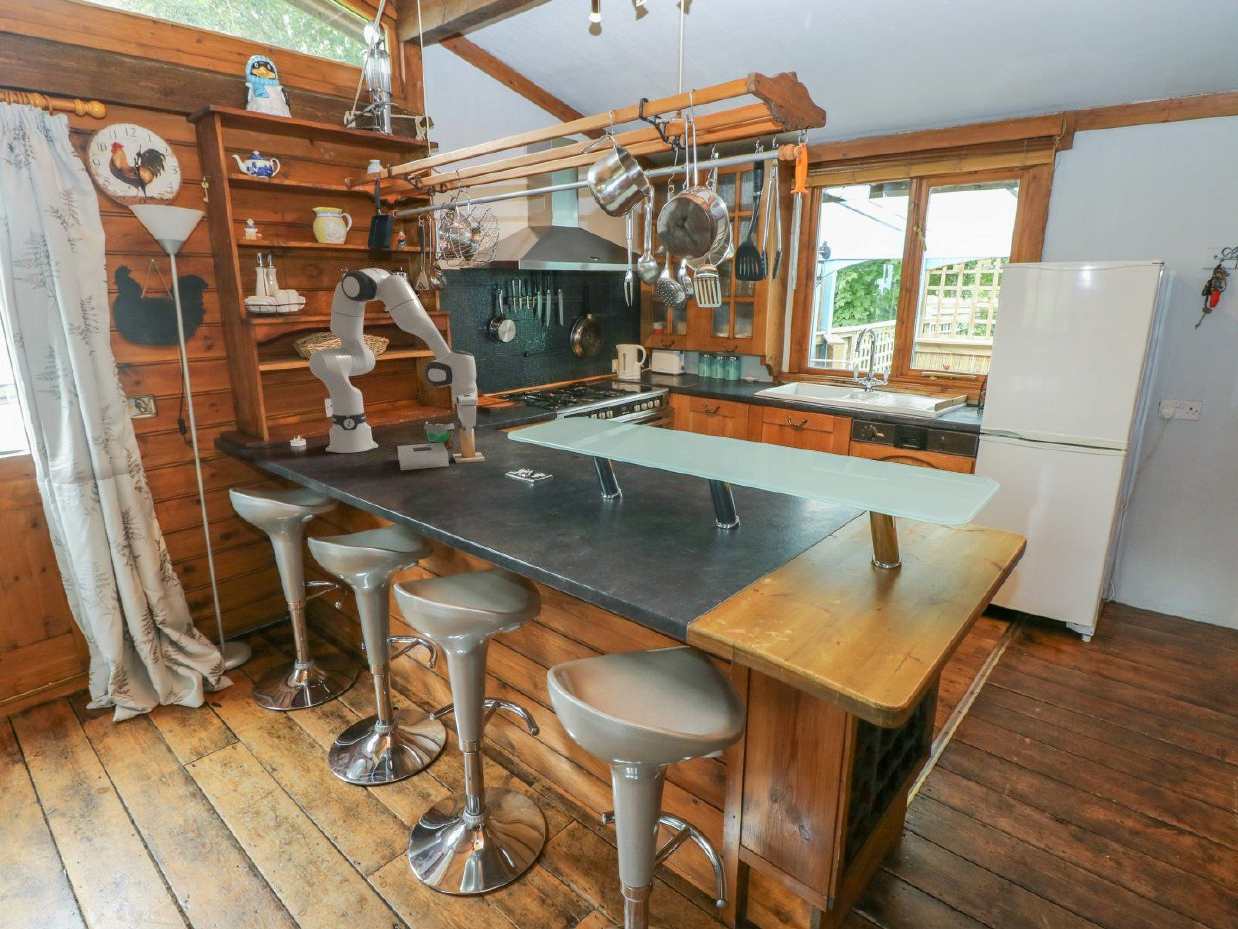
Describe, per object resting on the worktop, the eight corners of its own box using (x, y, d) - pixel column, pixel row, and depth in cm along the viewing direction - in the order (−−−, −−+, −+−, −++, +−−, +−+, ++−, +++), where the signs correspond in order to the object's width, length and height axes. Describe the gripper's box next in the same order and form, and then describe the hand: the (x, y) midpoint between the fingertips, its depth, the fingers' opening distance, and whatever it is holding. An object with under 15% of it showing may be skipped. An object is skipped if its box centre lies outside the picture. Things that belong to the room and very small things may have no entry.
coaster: (453, 456, 246) (452, 454, 246) (480, 454, 250) (480, 451, 249) (456, 463, 237) (456, 460, 237) (484, 460, 240) (484, 458, 240)
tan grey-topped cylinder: (460, 455, 245) (458, 426, 242) (474, 454, 246) (472, 425, 243) (462, 458, 240) (460, 428, 237) (476, 457, 242) (474, 427, 239)
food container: (419, 449, 257) (417, 424, 255) (428, 446, 263) (426, 421, 260) (447, 451, 254) (445, 426, 251) (456, 448, 260) (454, 423, 257)
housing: (398, 459, 243) (397, 446, 241) (443, 455, 248) (442, 442, 247) (401, 470, 228) (399, 456, 227) (448, 466, 233) (447, 452, 232)
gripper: (452, 392, 246) (454, 429, 249) (459, 401, 227) (462, 440, 231) (469, 391, 248) (471, 428, 252) (478, 400, 229) (480, 439, 233)
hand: (467, 434), depth 241 cm, fingers open, 8 cm apart
